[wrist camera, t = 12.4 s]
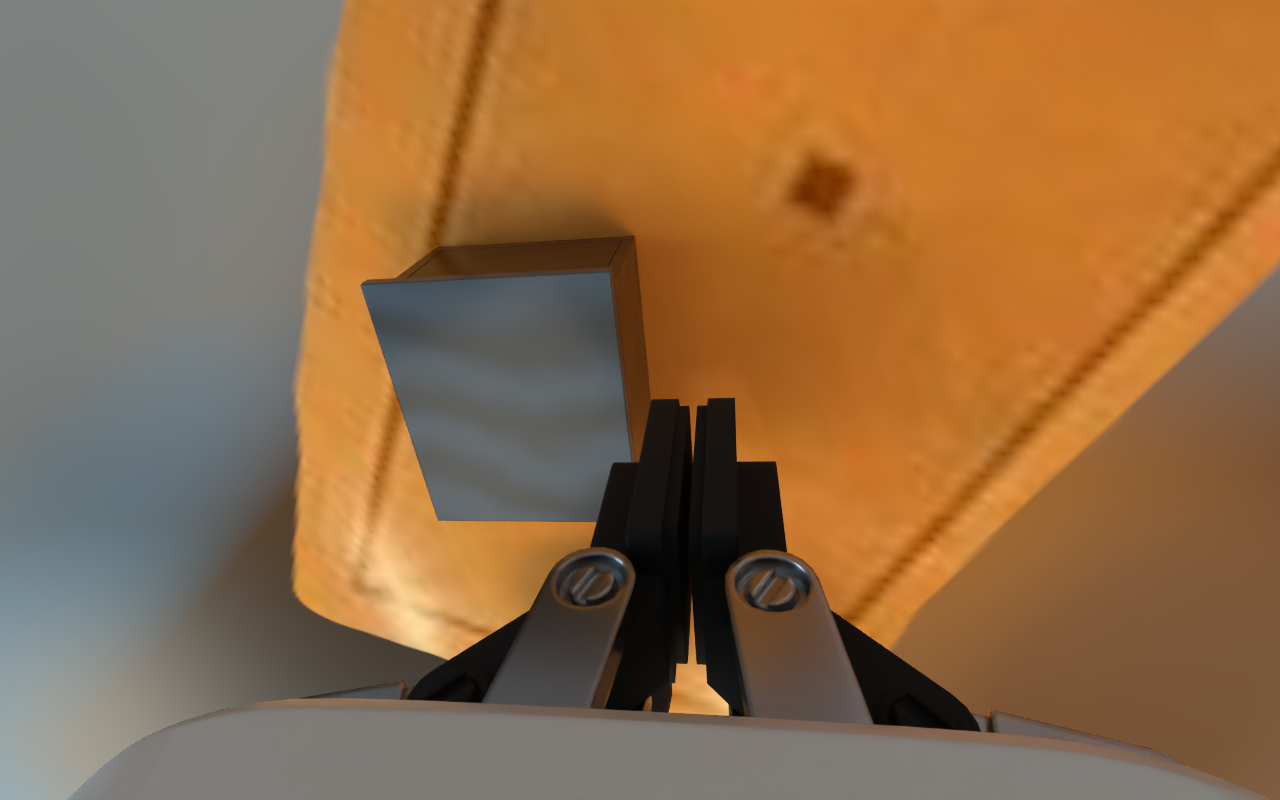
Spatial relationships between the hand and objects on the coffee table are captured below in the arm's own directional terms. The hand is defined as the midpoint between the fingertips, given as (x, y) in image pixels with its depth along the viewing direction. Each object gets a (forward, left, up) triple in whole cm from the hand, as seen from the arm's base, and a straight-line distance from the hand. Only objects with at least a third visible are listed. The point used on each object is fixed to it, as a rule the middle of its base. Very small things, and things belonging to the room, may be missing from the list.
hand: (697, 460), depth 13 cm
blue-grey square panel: (+11, -12, -20) cm, 26 cm away
